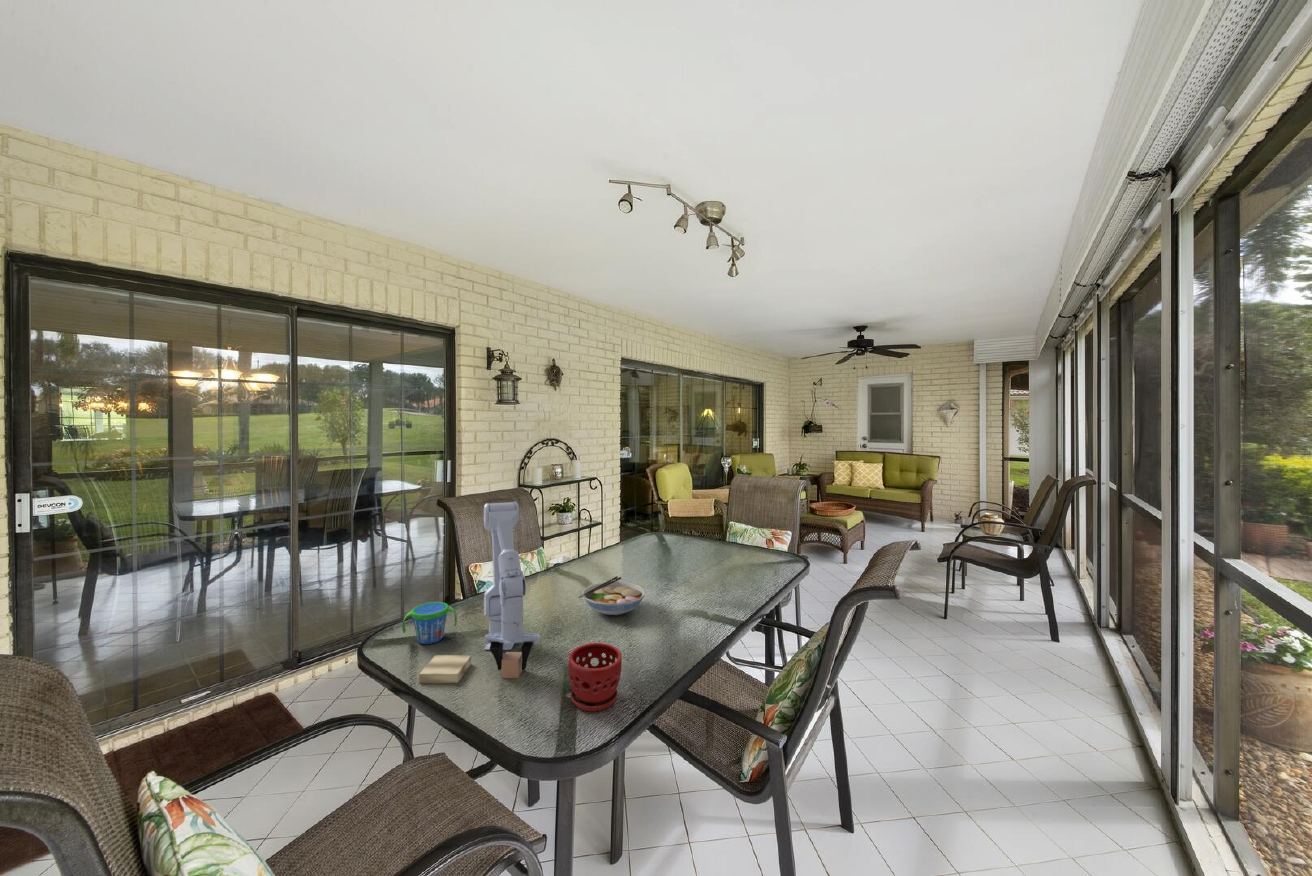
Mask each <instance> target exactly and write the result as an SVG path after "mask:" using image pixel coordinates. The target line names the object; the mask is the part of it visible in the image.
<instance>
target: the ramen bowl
mask: <svg viewBox="0 0 1312 876" xmlns="http://www.w3.org/2000/svg"><path fill="white" fill-rule="evenodd" d="M619 580H620V581H619ZM621 580H622V576H617V575H616V576H614V577H612V578H611V579H608V580H607V581H603V582H597V583H594V584H591V585H588V586H587V587H585V588H584V589H583V590H582V592H581V593H582V594H581V595H580V596H578V597H577V599H581V598H584V599H583V600H584V601H585V602H586V603H587V604H588V605H589V606H590V607H591V609H592V610H594V611H596V612H598V613H600V614H604V615H607V616H611V615H615V616H620V615H622V614H626V613H629V612H631V611H633V610H634V609H635V608H637V607H638V606H639V604H640V603H642V600H643V599H644V597H645V594H646V590H645V588H643V587H642V586H641V585H638V584H636V583H634V582H633V583H632V582H629V581H628V582H627V581H621Z"/></svg>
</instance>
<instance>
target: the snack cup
mask: <svg viewBox="0 0 1312 876" xmlns="http://www.w3.org/2000/svg"><path fill="white" fill-rule="evenodd" d="M448 612H453V615H454V627H456V625H457V623H458V613H457V611H456V610H455V609H454V608H453V607H452V606H450V605H448V603H446V602H443V601H433V602H432V601H431V602H426V603H422V604H419V605H417V606H414V608H412V609H411V610H410V611H409V612H407V613H406V615H405V616H404V618H403V620H402V625H401V629H402V633H404V634H406V626H405V625H406V624H405V620H406V619H407V618H408V617H411V619H412V622H413V626H414V632H415V636H416V640H417V642H418V643H419V644H422V645H430V644H435V643H438V642H439V641H441V640H442V639H443V638H444V636H445V629H446V622H447V621H446V620H447V613H448Z"/></svg>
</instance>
